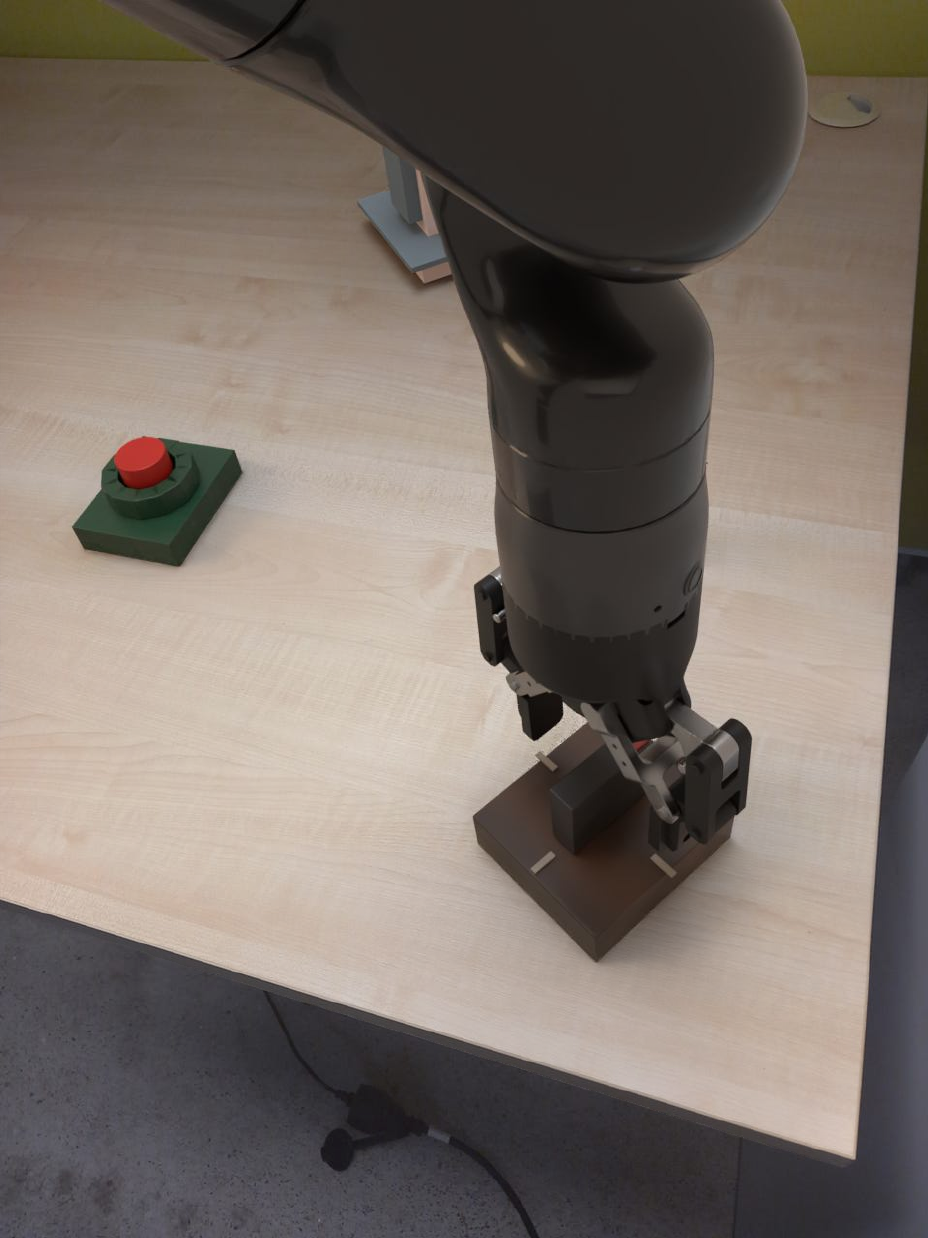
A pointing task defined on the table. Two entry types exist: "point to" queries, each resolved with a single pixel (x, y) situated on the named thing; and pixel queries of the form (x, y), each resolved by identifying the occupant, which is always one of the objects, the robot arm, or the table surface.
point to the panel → (585, 853)
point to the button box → (159, 505)
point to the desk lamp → (407, 220)
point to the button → (143, 462)
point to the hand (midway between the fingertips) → (603, 780)
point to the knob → (592, 798)
